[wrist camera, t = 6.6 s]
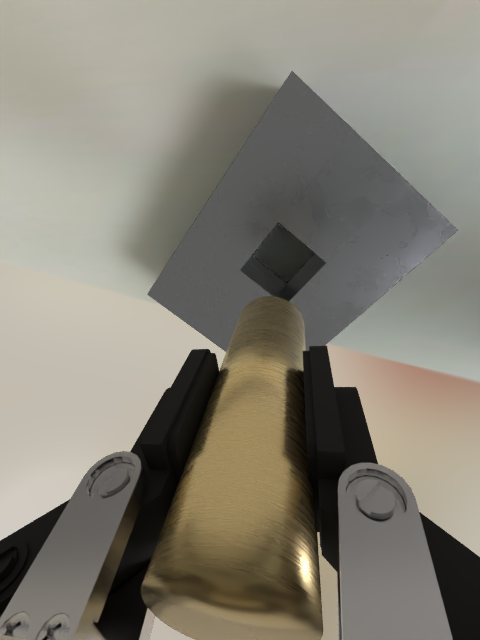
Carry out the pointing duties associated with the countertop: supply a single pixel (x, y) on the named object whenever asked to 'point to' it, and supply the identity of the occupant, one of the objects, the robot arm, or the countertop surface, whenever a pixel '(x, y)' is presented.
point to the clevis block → (300, 225)
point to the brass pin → (245, 498)
